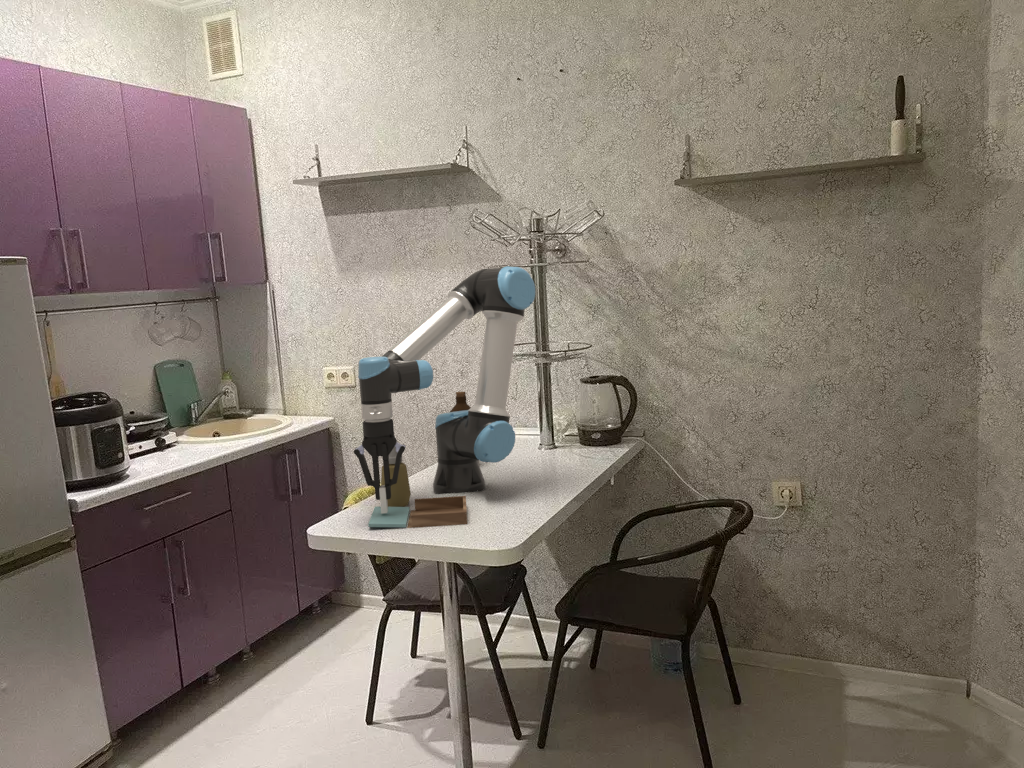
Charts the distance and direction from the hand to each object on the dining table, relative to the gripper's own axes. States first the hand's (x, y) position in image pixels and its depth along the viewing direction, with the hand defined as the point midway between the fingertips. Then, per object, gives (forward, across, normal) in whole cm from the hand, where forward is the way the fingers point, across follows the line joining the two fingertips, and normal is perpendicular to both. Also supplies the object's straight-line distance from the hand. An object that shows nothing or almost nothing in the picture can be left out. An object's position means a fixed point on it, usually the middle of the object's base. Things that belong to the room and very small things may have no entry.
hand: (384, 511), depth 192 cm
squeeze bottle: (+4, +2, +14) cm, 14 cm away
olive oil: (+4, +21, +59) cm, 62 cm away
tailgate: (+2, +6, 0) cm, 6 cm away
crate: (+3, +13, 0) cm, 14 cm away
